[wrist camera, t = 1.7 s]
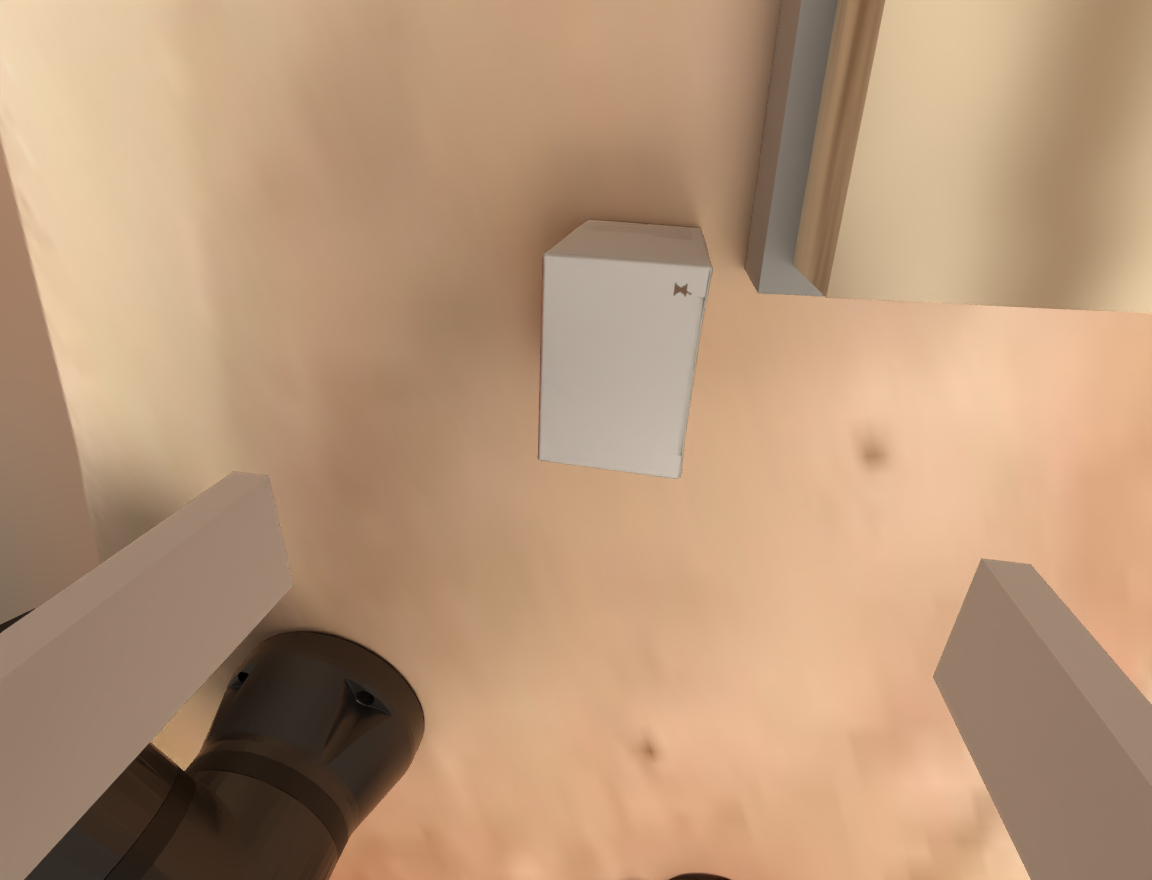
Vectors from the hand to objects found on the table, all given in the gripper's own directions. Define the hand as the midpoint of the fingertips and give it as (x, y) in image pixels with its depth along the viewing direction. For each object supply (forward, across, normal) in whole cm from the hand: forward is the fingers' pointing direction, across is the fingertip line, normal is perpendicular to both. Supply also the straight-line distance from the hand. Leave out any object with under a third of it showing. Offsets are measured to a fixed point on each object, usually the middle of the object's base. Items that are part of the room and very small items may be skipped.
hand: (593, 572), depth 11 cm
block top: (+15, +10, +9) cm, 20 cm away
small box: (+21, -1, 0) cm, 21 cm away
